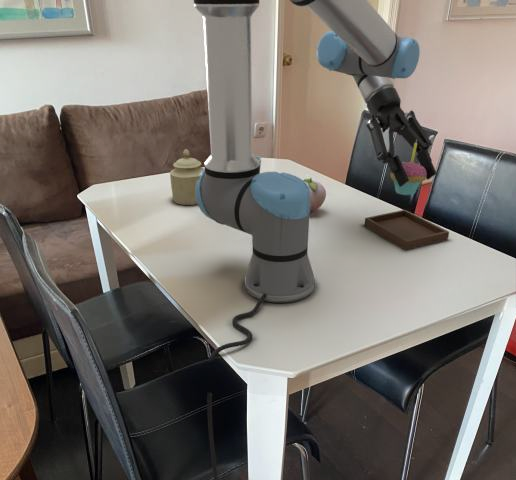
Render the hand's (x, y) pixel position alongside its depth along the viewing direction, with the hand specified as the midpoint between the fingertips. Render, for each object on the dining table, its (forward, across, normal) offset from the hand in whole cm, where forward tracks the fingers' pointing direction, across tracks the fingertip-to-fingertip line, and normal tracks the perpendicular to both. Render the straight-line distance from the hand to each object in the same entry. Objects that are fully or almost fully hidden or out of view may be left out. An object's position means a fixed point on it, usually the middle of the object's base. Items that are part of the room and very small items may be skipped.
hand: (418, 179), depth 120 cm
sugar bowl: (-36, +31, -48) cm, 67 cm away
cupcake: (+1, 0, -5) cm, 5 cm away
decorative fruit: (-10, +8, -33) cm, 36 cm away
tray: (+8, -4, -14) cm, 17 cm away
